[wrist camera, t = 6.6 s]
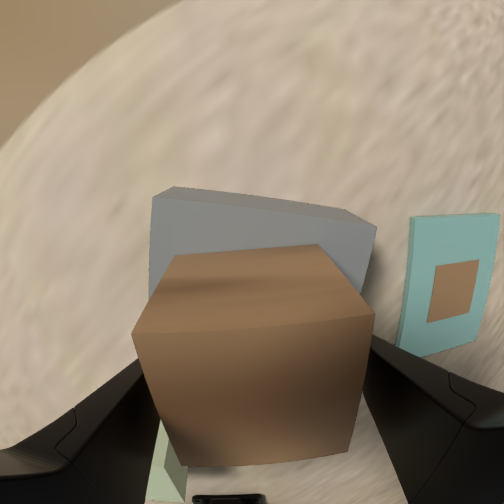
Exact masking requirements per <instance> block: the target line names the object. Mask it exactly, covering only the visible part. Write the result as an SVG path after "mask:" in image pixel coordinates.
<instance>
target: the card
mask: <svg viewBox="0 0 504 504" xmlns="http://www.w3.org/2000/svg"><path fill="white" fill-rule="evenodd" d="M499 220H500V215H499V214H496V213H484V214H459V215H437V216H418V217H410V236H409V250H408V262H407V272H406V281H405V289H404V297H403V304H402V311H401V317H400V324H399V329H398V335H397V340H396V346H397V347H399V348H401V349H403V350H405V351H407V352H410V353H412V354H414V355H416V356H418V357H424V356H427V355H431V354H434V353H438V352H441V351H444V350H447V349H451V348H454V347H457V346H460V345H463V344H466V343H469V342H472V341H475V340H476V337H477V333H478V330H479V326H480V323H481V319H482V316H483V312H484V308H485V304H486V299H487V295H488V291H489V286H490V281H491V276H492V271H493V265H494V259H495V253H496V246H497V238H498V230H499Z"/></svg>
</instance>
